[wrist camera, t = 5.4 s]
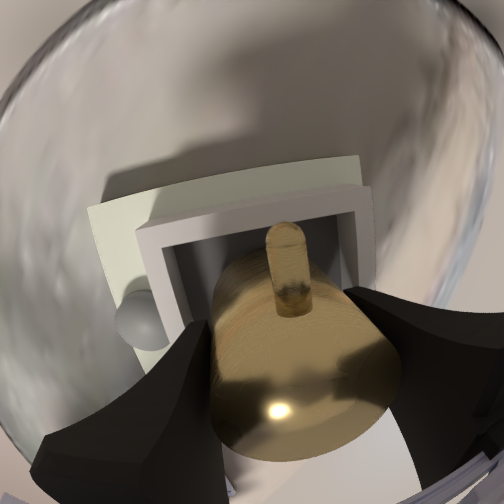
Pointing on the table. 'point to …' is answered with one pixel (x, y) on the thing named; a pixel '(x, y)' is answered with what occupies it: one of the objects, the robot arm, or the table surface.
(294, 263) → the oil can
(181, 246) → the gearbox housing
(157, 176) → the table surface
